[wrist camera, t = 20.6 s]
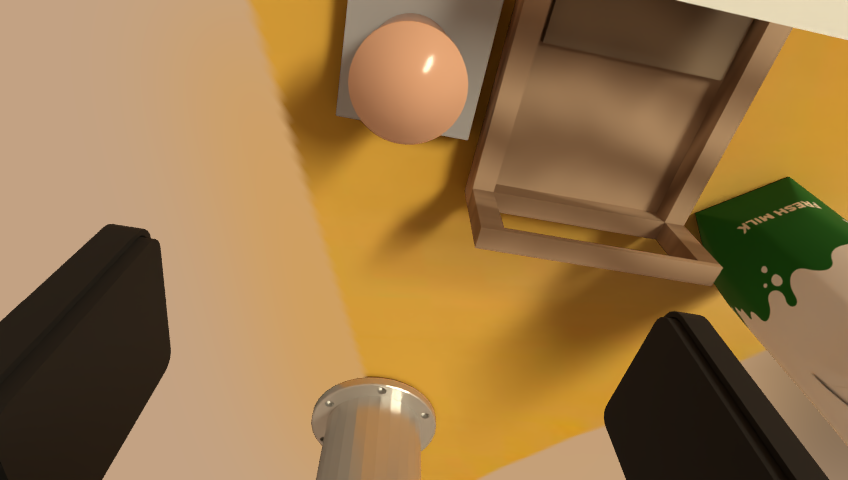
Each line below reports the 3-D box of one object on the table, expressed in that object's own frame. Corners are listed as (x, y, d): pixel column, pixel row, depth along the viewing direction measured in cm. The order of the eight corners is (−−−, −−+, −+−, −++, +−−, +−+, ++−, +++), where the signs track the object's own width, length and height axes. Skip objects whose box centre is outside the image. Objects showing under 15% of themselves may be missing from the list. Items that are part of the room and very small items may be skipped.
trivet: (465, 132, 35) (467, 140, 33) (338, 108, 34) (335, 115, 32) (501, -7, 30) (504, -4, 29) (354, -40, 29) (351, -39, 28)
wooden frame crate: (660, 226, 39) (711, 286, 32) (464, 191, 37) (475, 247, 30) (833, -107, 27) (968, -122, 21) (563, -180, 26) (615, -222, 19)
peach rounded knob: (446, 114, 32) (452, 153, 26) (356, 96, 32) (341, 132, 26) (469, 17, 29) (481, 37, 23) (369, -5, 29) (356, 9, 23)
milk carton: (700, 289, 42) (892, 526, 25) (680, 206, 38) (894, 425, 21) (809, 250, 40) (1098, 480, 23) (800, 158, 36) (1147, 357, 19)
